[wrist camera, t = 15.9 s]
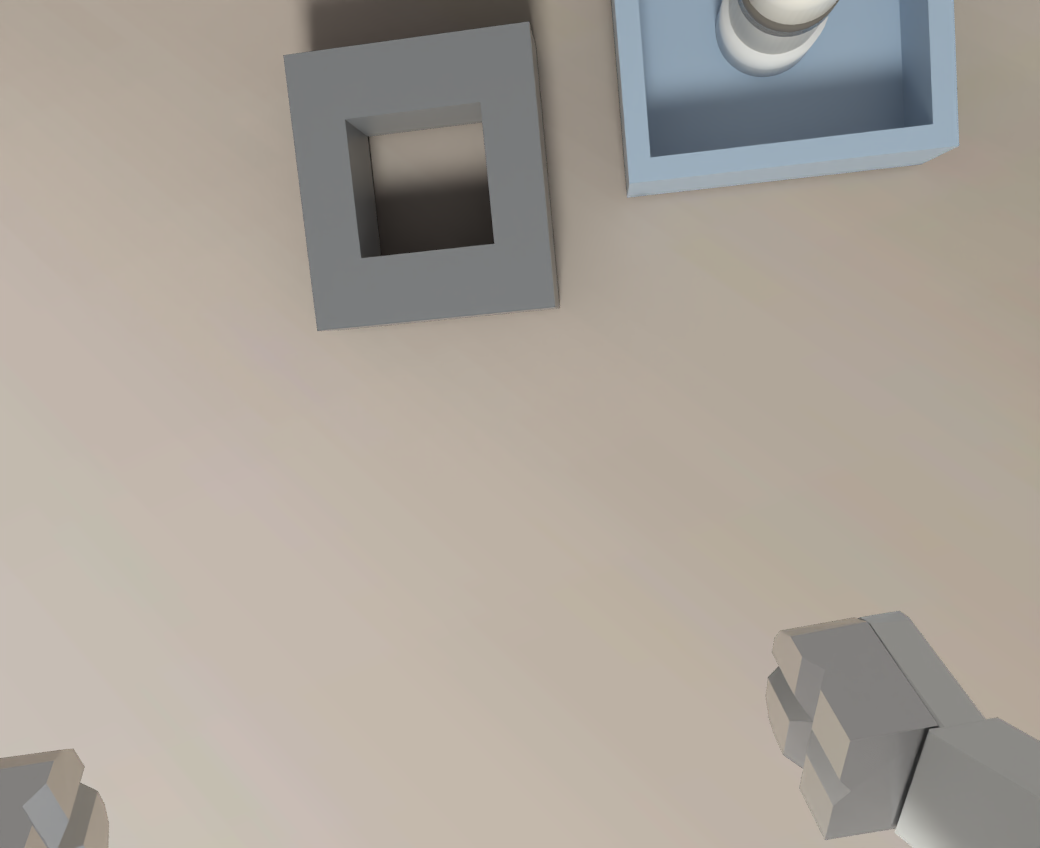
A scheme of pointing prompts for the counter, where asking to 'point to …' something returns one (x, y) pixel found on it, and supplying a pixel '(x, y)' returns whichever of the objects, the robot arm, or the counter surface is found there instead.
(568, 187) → the counter surface
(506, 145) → the block
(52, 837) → the robot arm
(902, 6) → the parts tray
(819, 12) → the fuse
